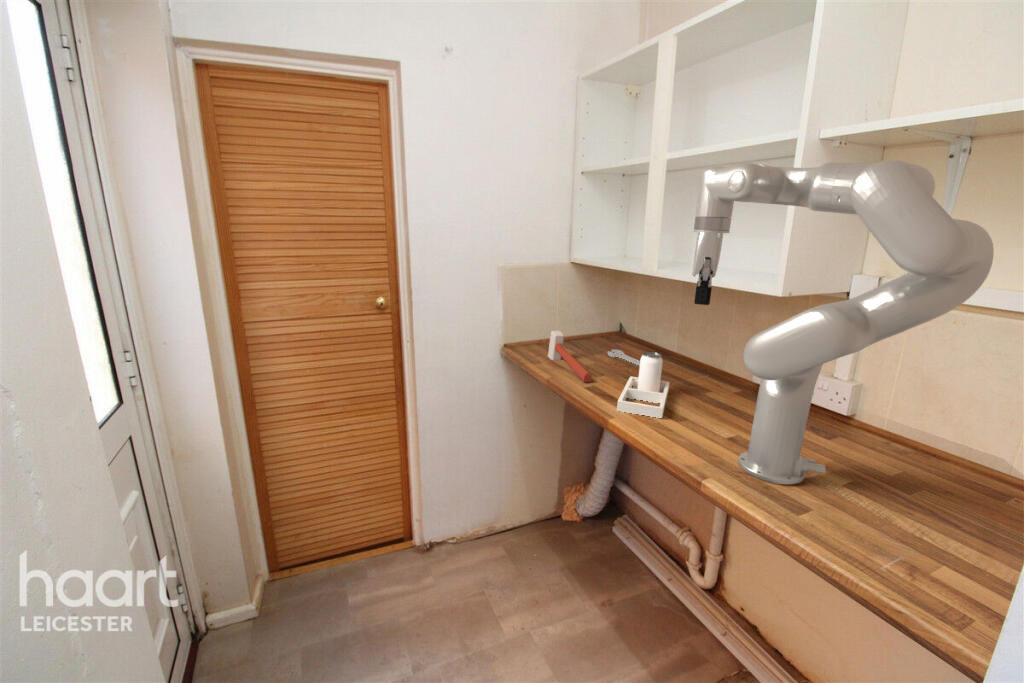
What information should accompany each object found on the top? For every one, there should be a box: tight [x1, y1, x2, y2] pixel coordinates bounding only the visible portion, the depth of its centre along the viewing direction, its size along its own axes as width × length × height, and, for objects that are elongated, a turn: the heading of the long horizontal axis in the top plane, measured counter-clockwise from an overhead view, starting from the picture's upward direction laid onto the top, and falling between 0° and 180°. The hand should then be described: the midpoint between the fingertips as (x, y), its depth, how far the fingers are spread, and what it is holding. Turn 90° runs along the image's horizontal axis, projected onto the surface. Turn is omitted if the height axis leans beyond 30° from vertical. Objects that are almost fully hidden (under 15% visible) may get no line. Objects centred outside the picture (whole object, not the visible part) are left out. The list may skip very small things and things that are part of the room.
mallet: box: [547, 330, 592, 384], centre depth 163 cm, size 11×4×30 cm
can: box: [637, 351, 664, 393], centre depth 142 cm, size 6×6×12 cm
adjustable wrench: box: [606, 349, 640, 367], centre depth 174 cm, size 25×6×2 cm, turn 22°
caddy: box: [616, 376, 670, 419], centre depth 137 cm, size 12×23×3 cm, turn 158°
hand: (702, 301), depth 109 cm, fingers open, 9 cm apart
